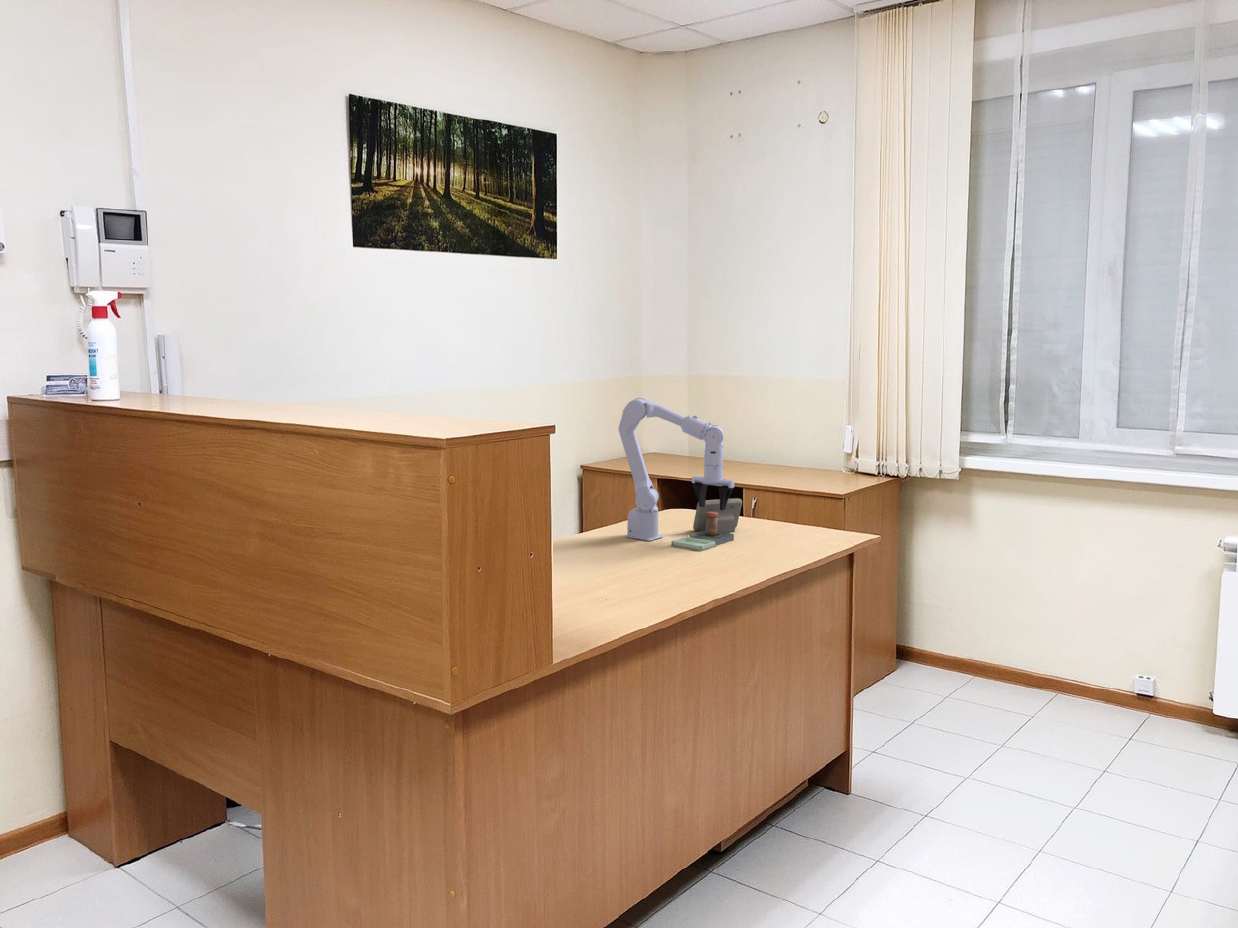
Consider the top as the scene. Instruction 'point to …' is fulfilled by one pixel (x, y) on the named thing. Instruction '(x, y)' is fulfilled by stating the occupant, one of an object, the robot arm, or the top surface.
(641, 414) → the robot arm
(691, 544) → the tray
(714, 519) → the pin
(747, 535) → the top surface
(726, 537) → the socket plate
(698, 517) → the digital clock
